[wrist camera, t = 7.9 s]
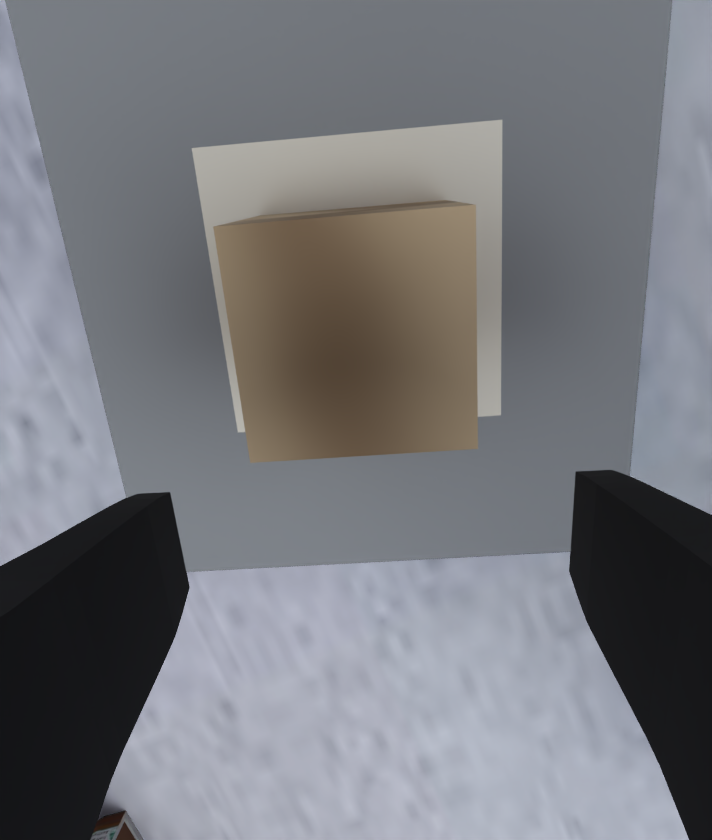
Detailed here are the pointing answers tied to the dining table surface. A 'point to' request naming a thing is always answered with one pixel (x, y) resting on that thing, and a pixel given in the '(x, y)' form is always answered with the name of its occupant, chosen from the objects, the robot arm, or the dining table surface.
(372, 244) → the oak cube
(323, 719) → the dining table surface
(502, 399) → the plinth
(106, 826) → the food container
